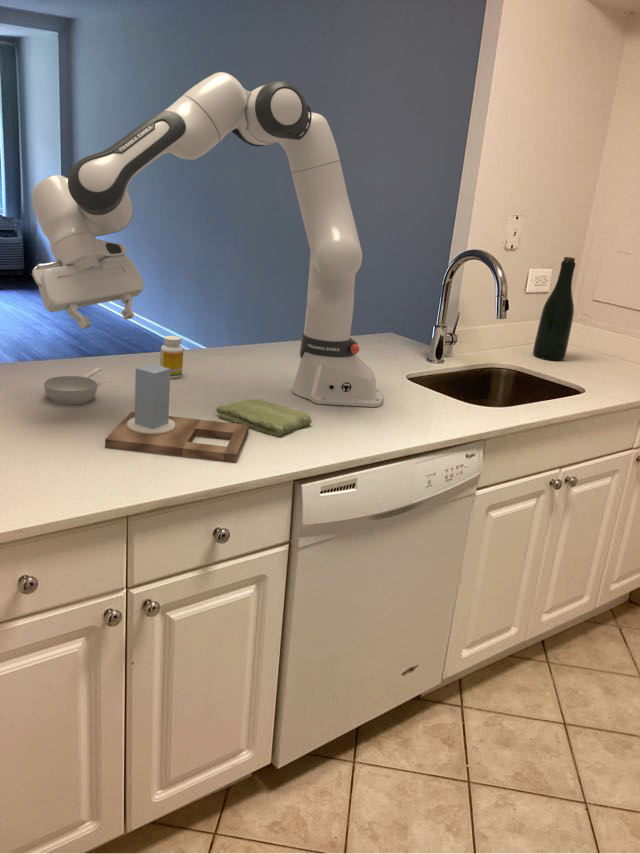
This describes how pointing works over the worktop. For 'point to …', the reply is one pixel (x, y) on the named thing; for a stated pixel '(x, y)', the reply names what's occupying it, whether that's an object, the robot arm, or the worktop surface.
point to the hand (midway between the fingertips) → (108, 322)
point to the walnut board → (183, 439)
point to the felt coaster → (148, 431)
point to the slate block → (152, 396)
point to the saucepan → (71, 388)
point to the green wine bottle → (557, 317)
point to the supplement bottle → (172, 356)
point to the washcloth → (264, 416)
